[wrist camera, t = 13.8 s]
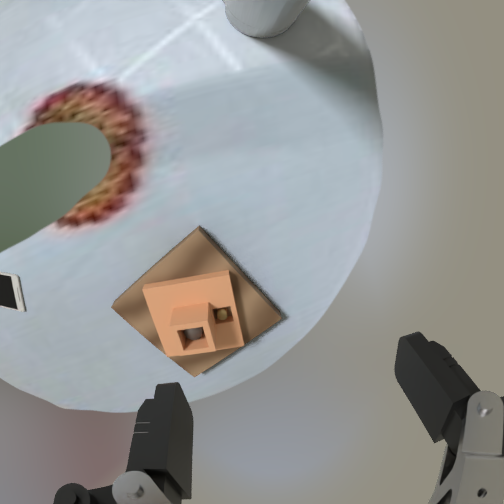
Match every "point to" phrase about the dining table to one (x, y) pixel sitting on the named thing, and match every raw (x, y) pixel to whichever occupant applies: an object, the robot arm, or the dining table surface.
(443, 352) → the robot arm
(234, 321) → the flange plate
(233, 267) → the post base
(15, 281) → the smartphone
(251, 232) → the dining table surface
